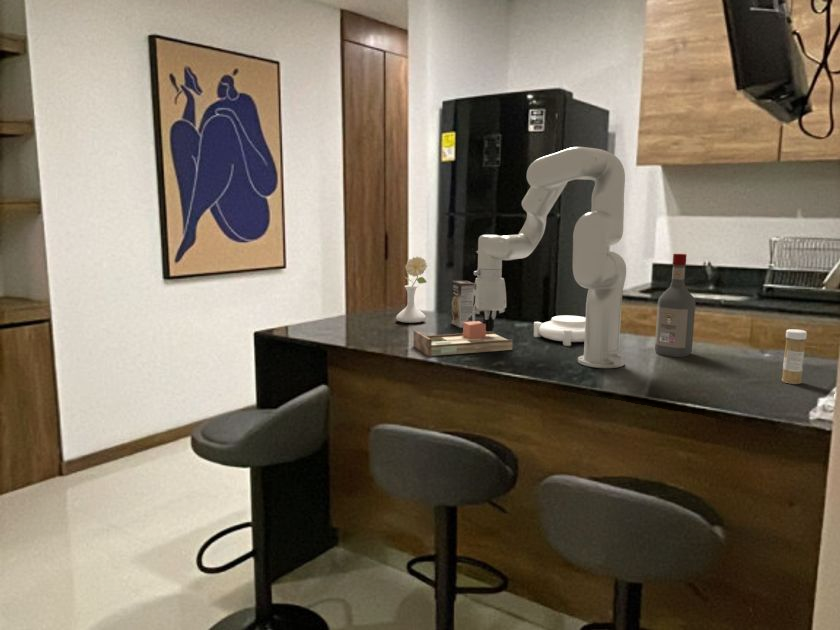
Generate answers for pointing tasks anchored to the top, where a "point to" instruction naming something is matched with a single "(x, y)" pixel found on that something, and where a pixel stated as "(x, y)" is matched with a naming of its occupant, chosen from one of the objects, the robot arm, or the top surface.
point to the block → (474, 330)
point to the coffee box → (462, 302)
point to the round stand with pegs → (562, 329)
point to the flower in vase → (413, 292)
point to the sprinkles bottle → (794, 356)
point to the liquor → (675, 315)
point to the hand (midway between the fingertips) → (488, 330)
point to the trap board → (459, 344)
